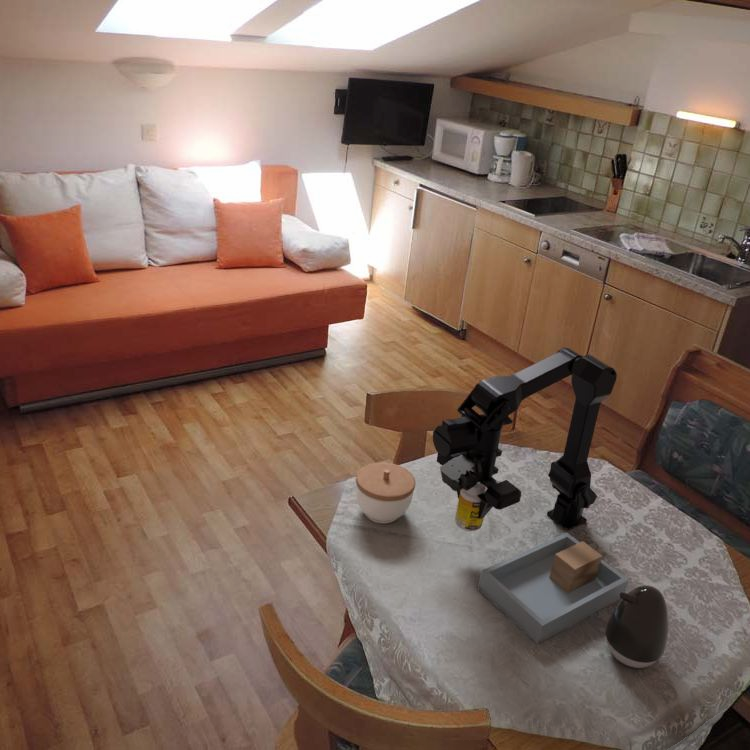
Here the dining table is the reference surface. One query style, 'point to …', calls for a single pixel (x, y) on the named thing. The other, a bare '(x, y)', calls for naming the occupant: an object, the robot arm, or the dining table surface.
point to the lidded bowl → (384, 491)
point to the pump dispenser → (639, 627)
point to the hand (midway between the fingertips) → (471, 510)
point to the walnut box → (575, 566)
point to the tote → (547, 590)
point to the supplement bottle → (469, 508)
